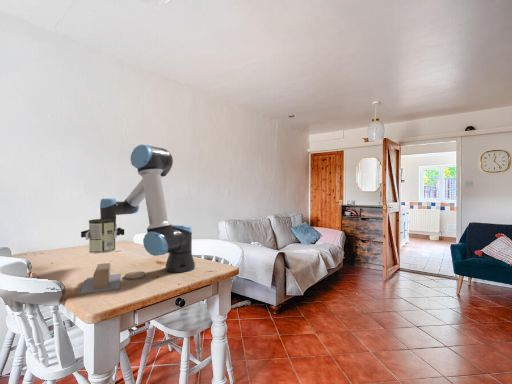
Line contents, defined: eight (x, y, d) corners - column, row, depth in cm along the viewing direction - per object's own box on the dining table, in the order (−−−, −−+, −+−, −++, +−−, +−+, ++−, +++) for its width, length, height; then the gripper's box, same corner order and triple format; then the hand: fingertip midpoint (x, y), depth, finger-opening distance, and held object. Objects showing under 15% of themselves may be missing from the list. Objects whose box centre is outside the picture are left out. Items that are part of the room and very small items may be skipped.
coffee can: (97, 248, 125) (97, 218, 125) (119, 248, 125) (119, 218, 125) (83, 253, 115) (83, 220, 115) (107, 253, 115) (107, 220, 115)
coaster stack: (149, 275, 133) (149, 271, 133) (138, 281, 124) (138, 277, 124) (132, 274, 134) (132, 270, 134) (120, 280, 125) (120, 276, 125)
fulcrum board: (119, 288, 113) (119, 272, 113) (80, 294, 107) (79, 276, 107) (120, 275, 131) (120, 261, 131) (87, 279, 125) (87, 264, 125)
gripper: (131, 235, 141) (130, 242, 121) (80, 238, 132) (70, 246, 111) (130, 221, 141) (130, 225, 121) (80, 223, 132) (70, 228, 111)
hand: (101, 235), depth 116 cm, fingers closed on coffee can, 10 cm apart
